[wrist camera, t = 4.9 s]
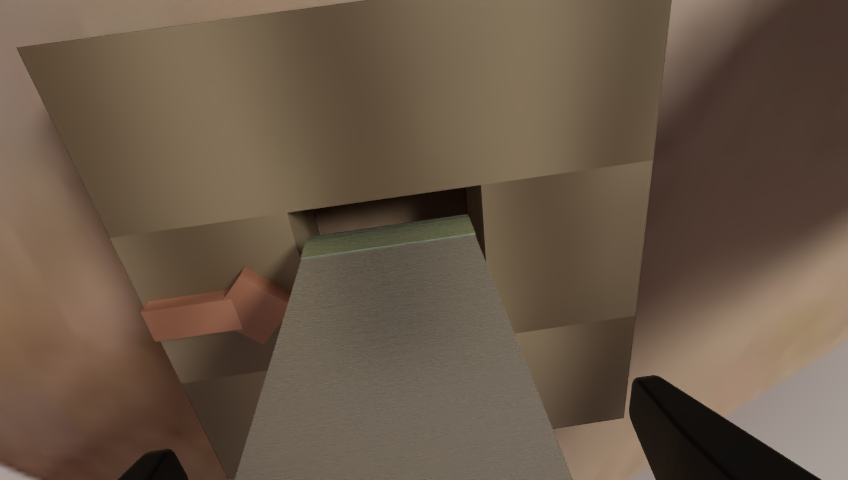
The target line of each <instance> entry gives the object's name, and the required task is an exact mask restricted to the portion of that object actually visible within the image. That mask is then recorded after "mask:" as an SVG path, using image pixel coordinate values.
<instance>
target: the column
mask: <svg viewBox="0 0 848 480" xmlns="http://www.w3.org/2000/svg"><path fill="white" fill-rule="evenodd" d="M300 259H301V262H300V265H299V269H298V272H297V275H296V279H295V282H294V285H293V289H292V292H291V295H290V299H289V302H288V305H287V308H286V312H285V315H284V318H283V322H282V325H281V328H280V332H279V335H278V338H277V341H276V345H275V348H274V351H273V355H272V358H271V361H270V365H269V368H268V371H267V375H266V378H265V381H264V384H263V388H262V391H261V394H260V398H259V401H258V404H257V408H256V411H255V414H254V417H253V421H252V424H251V427H250V431H249V434H248V437H247V441H246V444H245V447H244V450H243V454H242V457H241V460H240V464H239V467H238V470H237V474H236V477H235V480H573V479H572V476H571V474H570V471H569V469H568V466H567V464H566V461H565V459H564V456H563V454H562V451H561V449H560V446H559V444H558V441H557V439H556V436H555V434H554V431H553V429H552V426H551V424H550V421H549V419H548V416H547V414H546V411H545V409H544V406H543V404H542V401H541V399H540V396H539V394H538V391H537V389H536V386H535V384H534V381H533V379H532V376H531V374H530V371H529V369H528V366H527V364H526V361H525V359H524V356H523V354H522V351H521V349H520V346H519V344H518V341H517V339H516V336H515V334H514V331H513V329H512V326H511V324H510V321H509V319H508V316H507V314H506V311H505V309H504V306H503V304H502V301H501V299H500V296H499V294H498V291H497V289H496V286H495V283H494V281H493V278H492V276H491V273H490V271H489V268H488V266H487V263H486V261H485V258H484V256H483V253H482V251H481V248H480V246H479V243H478V241H477V238H476V234H475V231H474V228H473V226H472V223H471V221H470V218H469V216H468V215H467V214H464V215H458V216H451V217H444V218H437V219H430V220H423V221H416V222H409V223H402V224H395V225H388V226H381V227H374V228H367V229H360V230H354V231H347V232H340V233H333V234H326V235H319V236H312V237H308V238H306V242H305V245H304V248H303V251H302V255H301V258H300Z"/></svg>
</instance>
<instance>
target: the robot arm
mask: <svg viewBox="0 0 848 480" xmlns="http://www.w3.org/2000/svg"><path fill="white" fill-rule="evenodd" d="M629 414H630V419H631V422H632V424H633V427H634V429H635V432H636V434H637V436H638V439H639V441H640V443H641V446H642V448H643V451H644V453H645V455H646V458H647V460H648V462H649V465H650V467H651V470H652V471H653V474H654V477H655V479H656V480H821V479H819V478H818V477H816V476H814V475H813V474H811V473H810V472H808V471H807V470H805V469H804V468H802V467H800V466H799V465H797V464H796V463H794V462H793V461H791V460H790V459H788V458H786V457H785V456H783V455H782V454H780V453H778V452H777V451H775V450H774V449H772V448H771V447H769V446H767V445H766V444H764V443H763V442H761V441H760V440H758V439H757V438H755V437H753V436H752V435H750V434H748V433H747V432H746V431H744V430H742V429H741V428H739V427H738V426H736V425H734V424H733V423H731V422H730V421H728V420H727V419H725V418H724V417H722V416H721V415H719V414H717V413H716V412H714V411H713V410H711V409H710V408H708V407H706V406H705V405H703V404H702V403H700V402H699V401H697V400H695V399H694V398H692V397H691V396H689V395H688V394H686V393H684V392H683V391H681V390H680V389H678V388H677V387H675V386H673V385H672V384H670V383H669V382H667V381H666V380H664V379H662V378H661V377H659V376H655V375H651V376H645V377H638V378H635V379H634V381H633V383H632V389H631V397H630V406H629ZM118 480H188V477H187V474H186V473H185V471H184V469H183V467H182V465H181V464H180V462H179V460H178V458H177V456H176V455H175V453H174V452H173V451H172V450H170V449H163V450H157V451H151V452H148V453H146V454H144V455H143V456H142V457H141V458H140V459H139V460H137V461H136V462H135V463H134V464H133V465H132V466H131V467H130V468H129V469H128V470H127V471H126V472H125V473H124V474H123V475H122V476H121V477H120V478H119V479H118Z"/></svg>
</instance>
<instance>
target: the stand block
mask: <svg viewBox="0 0 848 480" xmlns="http://www.w3.org/2000/svg"><path fill="white" fill-rule="evenodd" d="M671 1H672V0H365V1H357V2H350V3H342V4H335V5H328V6H320V7H313V8H306V9H298V10H291V11H283V12H276V13H269V14H261V15H254V16H246V17H239V18H232V19H224V20H217V21H209V22H202V23H195V24H187V25H180V26H172V27H165V28H158V29H150V30H143V31H136V32H128V33H121V34H113V35H106V36H99V37H91V38H84V39H76V40H69V41H62V42H54V43H47V44H40V45H32V46H25V47H18V48H17V50H18V52H19V54H20V56H21V58H22V60H23V62H24V64H25V66H26V68H27V70H28V73H29V75H30V77H31V79H32V81H33V83H34V85H35V87H36V89H37V91H38V93H39V95H40V97H41V99H42V101H43V103H44V105H45V107H46V109H47V111H48V113H49V115H50V117H51V119H52V121H53V123H54V125H55V128H56V130H57V132H58V134H59V136H60V138H61V140H62V142H63V144H64V146H65V148H66V150H67V152H68V154H69V156H70V158H71V160H72V162H73V164H74V166H75V168H76V170H77V172H78V174H79V176H80V178H81V180H82V183H83V185H84V187H85V189H86V191H87V193H88V195H89V197H90V199H91V201H92V203H93V205H94V207H95V209H96V211H97V213H98V215H99V217H100V219H101V221H102V223H103V225H104V227H105V229H106V231H107V233H108V235H109V238H110V240H111V242H112V244H113V246H114V248H115V250H116V252H117V254H118V256H119V258H120V260H121V262H122V264H123V266H124V268H125V270H126V272H127V274H128V276H129V278H130V280H131V282H132V284H133V286H134V288H135V290H136V293H137V295H138V297H139V299H140V301H141V303H142V305H143V307H144V308H143V310H142V311H141V312H140V313H141V315H142V317H143V319H144V321H145V323H146V325H147V327H148V329H149V331H150V333H151V335H152V337H153V339H154V341H155V342H158V341H161V343H162V345H163V348H164V350H165V352H166V354H167V356H168V358H169V360H170V362H171V364H172V366H173V368H174V370H175V372H176V374H177V376H178V378H179V380H180V382H181V384H182V386H183V388H184V390H185V392H186V394H187V396H188V398H189V401H190V403H191V405H192V407H193V409H194V411H195V413H196V415H197V417H198V419H199V421H200V423H201V425H202V427H203V429H204V431H205V433H206V435H207V437H208V439H209V441H210V443H211V445H212V447H213V449H214V451H215V453H216V456H217V458H218V460H219V462H220V464H221V466H222V468H223V470H224V472H225V474H226V476H227V478H235V477H236V474H237V470H238V467H239V464H240V460H241V457H242V454H243V450H244V447H245V444H246V441H247V437H248V434H249V431H250V427H251V424H252V421H253V417H254V414H255V411H256V408H257V404H258V401H259V398H260V394H261V391H262V388H263V384H264V381H265V378H266V375H267V371H268V368H269V365H270V361H271V358H272V355H273V351H274V348H275V345H276V341H277V338H278V335H279V332H280V328H281V325H282V322H283V318H284V315H285V312H286V308H287V305H288V302H289V299H290V295H291V292H292V289H293V285H294V282H295V279H296V275H297V272H298V269H299V265H300V262H301V259H300V258H301V255H302V251H303V248H304V245H305V242H306V238H308V237H312V236H319V231H318V227H317V223H316V219H315V215H314V211H313V209H316V208H323V207H330V206H337V205H344V204H351V203H358V202H365V201H372V200H379V199H386V198H393V197H400V196H407V195H414V194H421V193H428V192H435V191H442V190H449V189H456V188H463V187H466V196H467V208H468V216H469V218H470V221H471V223H472V226H473V228H474V231H475V234H476V238H477V241H478V243H479V246H480V248H481V251H482V253H483V256H484V258H485V261H486V263H487V266H488V268H489V271H490V273H491V276H492V278H493V281H494V283H495V286H496V289H497V291H498V294H499V296H500V299H501V301H502V304H503V306H504V309H505V311H506V314H507V316H508V319H509V321H510V324H511V326H512V329H513V331H514V334H515V336H516V339H517V341H518V344H519V346H520V349H521V351H522V354H523V356H524V359H525V361H526V364H527V366H528V369H529V371H530V374H531V376H532V379H533V381H534V384H535V386H536V389H537V391H538V394H539V396H540V399H541V401H542V404H543V406H544V409H545V411H546V414H547V416H548V419H549V421H550V424H551V426H552V429H555V428H562V427H568V426H575V425H581V424H588V423H594V422H601V421H607V420H614V419H620V418H624V411H625V402H626V394H627V385H628V376H629V367H630V359H631V350H632V341H633V332H634V324H635V315H636V306H637V297H638V289H639V280H640V271H641V263H642V254H643V245H644V236H645V228H646V219H647V210H648V201H649V193H650V184H651V175H652V166H653V158H654V149H655V140H656V132H657V123H658V114H659V105H660V97H661V88H662V79H663V70H664V62H665V53H666V44H667V35H668V27H669V18H670V9H671Z"/></svg>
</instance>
